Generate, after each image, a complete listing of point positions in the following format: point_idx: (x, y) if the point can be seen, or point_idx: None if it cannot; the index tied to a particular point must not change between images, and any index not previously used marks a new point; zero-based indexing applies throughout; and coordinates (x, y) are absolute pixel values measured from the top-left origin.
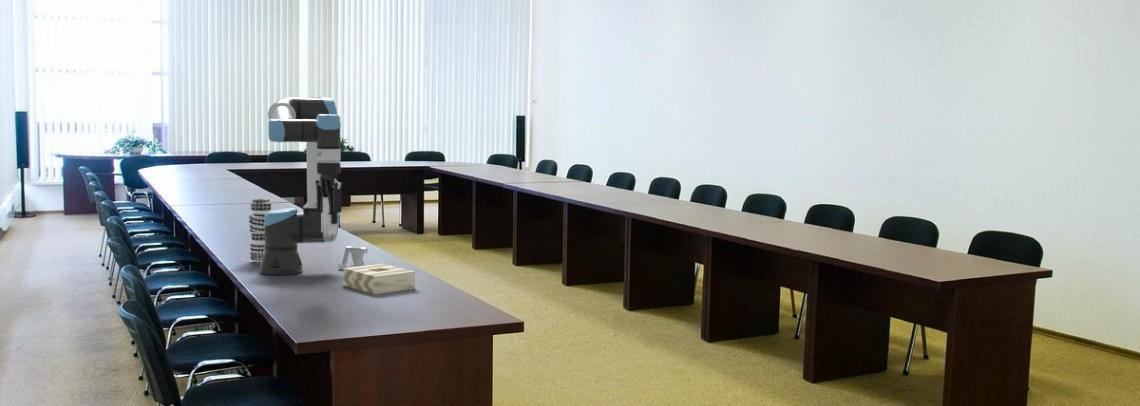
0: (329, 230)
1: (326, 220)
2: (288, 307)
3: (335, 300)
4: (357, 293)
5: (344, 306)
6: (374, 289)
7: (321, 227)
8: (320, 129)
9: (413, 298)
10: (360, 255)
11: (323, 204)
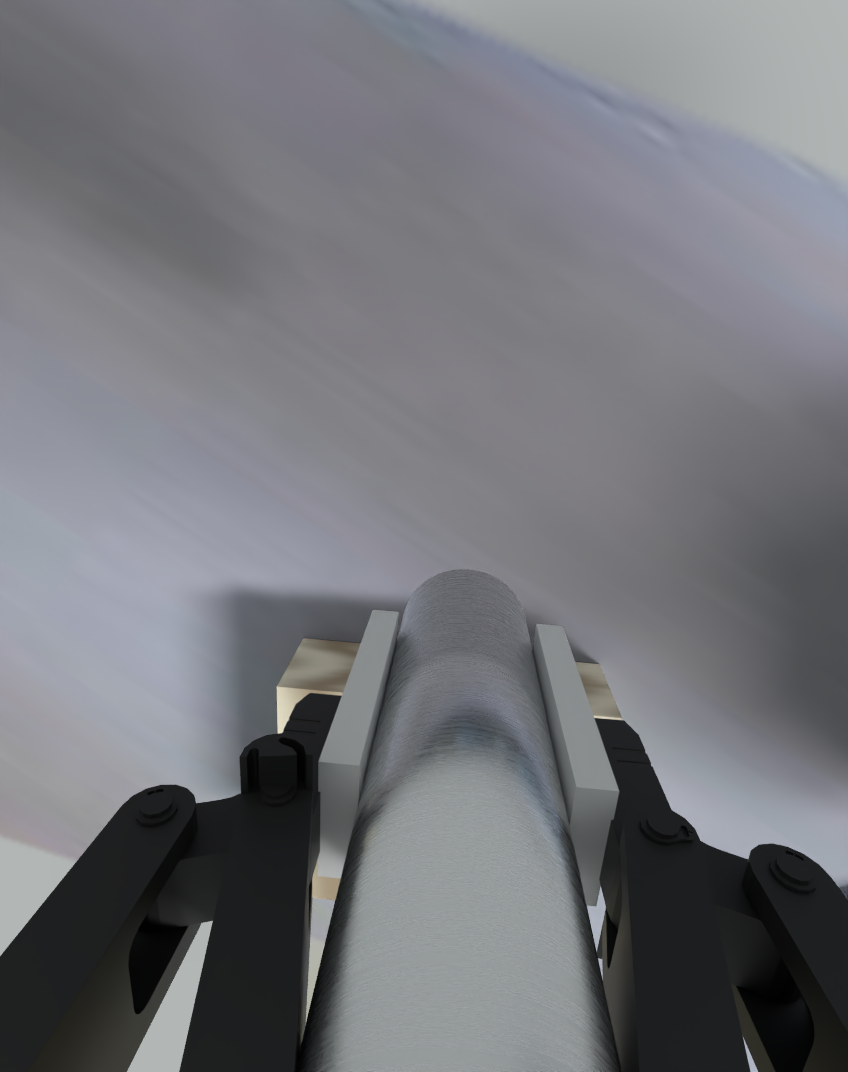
0: (369, 628)
1: (412, 690)
2: (283, 93)
3: (293, 415)
4: (377, 596)
5: (133, 362)
6: (299, 649)
7: (565, 653)
8: None
9: (122, 698)
10: None
11: (467, 896)
